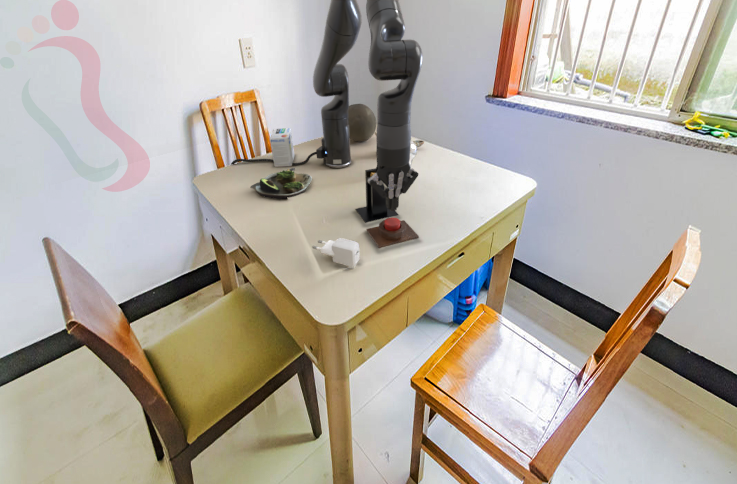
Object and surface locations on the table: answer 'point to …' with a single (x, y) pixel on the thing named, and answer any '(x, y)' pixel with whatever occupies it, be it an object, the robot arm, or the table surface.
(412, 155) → the light bulb
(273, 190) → the salad plate
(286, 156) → the light bulb box
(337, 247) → the power adapter
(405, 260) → the table surface
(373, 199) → the switch bracket
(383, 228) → the button block
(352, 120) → the cantaloupe
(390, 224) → the button
